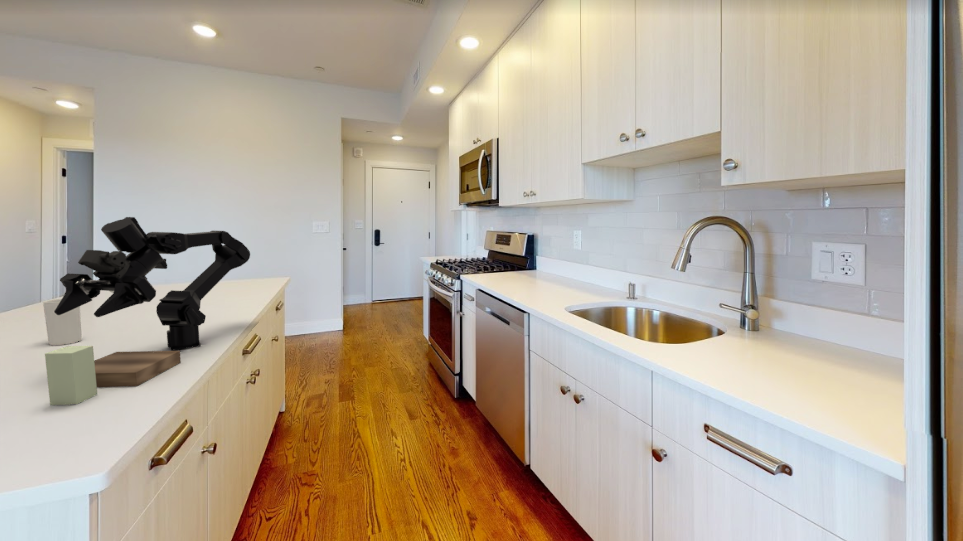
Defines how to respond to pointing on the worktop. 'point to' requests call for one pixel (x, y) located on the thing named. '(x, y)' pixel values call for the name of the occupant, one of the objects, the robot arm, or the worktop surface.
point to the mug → (62, 324)
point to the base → (133, 367)
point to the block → (71, 375)
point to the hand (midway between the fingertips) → (75, 314)
